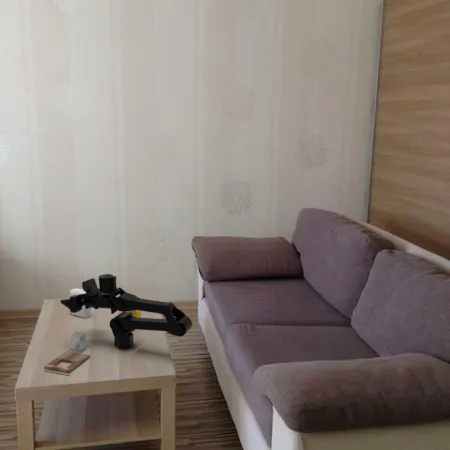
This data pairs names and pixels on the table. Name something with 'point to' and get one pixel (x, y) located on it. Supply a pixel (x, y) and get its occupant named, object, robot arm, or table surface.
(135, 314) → the duckling
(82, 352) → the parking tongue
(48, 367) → the board
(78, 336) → the block
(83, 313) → the photo printer
